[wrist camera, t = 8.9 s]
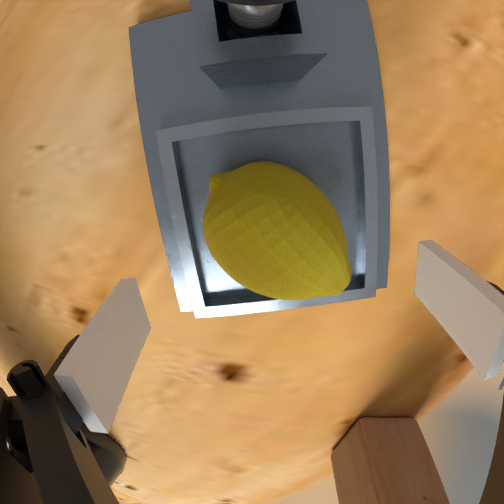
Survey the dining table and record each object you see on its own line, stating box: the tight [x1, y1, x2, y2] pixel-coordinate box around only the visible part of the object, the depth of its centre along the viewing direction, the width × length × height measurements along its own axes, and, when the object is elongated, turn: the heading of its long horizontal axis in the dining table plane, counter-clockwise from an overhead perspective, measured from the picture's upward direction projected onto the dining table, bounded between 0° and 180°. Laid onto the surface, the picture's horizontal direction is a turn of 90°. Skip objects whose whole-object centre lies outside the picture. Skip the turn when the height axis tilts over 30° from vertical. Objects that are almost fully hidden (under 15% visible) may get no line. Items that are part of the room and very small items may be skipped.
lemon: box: [202, 161, 352, 300], centre depth 20 cm, size 11×8×8 cm
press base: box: [129, 0, 390, 318], centre depth 18 cm, size 18×24×10 cm
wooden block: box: [331, 417, 449, 504], centre depth 28 cm, size 10×10×20 cm
